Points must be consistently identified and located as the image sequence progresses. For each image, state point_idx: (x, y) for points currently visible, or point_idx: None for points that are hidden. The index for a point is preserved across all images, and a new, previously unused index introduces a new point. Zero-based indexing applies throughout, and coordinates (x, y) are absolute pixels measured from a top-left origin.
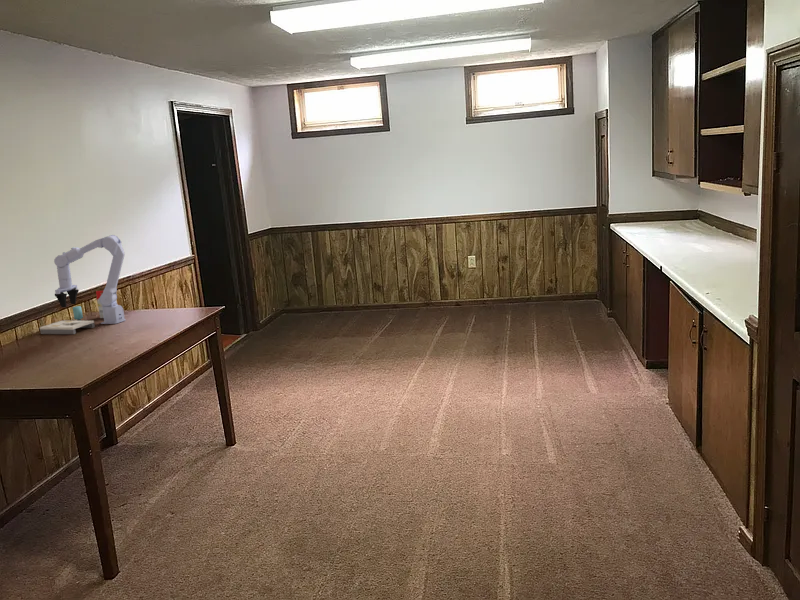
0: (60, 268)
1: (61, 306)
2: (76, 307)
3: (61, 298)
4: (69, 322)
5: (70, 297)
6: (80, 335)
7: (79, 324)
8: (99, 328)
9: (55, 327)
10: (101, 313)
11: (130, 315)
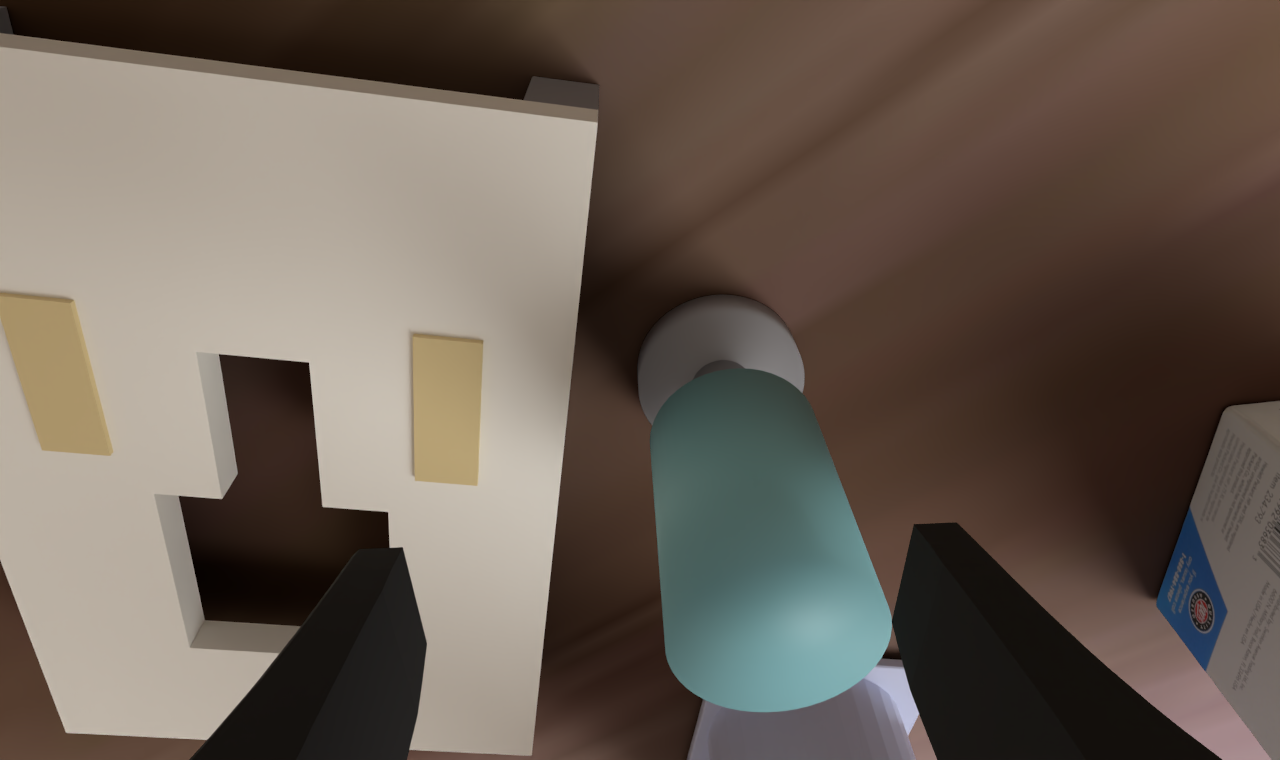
0: None
1: (345, 573)
2: (703, 670)
3: None
4: (395, 464)
5: (1044, 752)
6: (96, 747)
7: None
8: (461, 752)
9: None
10: (1265, 493)
11: (1191, 719)
